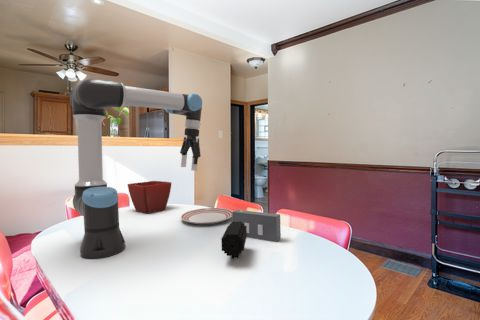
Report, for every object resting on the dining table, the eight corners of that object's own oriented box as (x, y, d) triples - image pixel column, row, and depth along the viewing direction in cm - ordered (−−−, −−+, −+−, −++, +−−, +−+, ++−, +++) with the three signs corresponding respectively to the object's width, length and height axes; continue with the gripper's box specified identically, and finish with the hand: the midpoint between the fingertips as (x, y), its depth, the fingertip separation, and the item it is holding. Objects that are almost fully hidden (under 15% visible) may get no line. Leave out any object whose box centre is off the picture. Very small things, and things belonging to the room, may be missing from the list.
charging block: (276, 242, 107) (276, 216, 106) (232, 235, 117) (231, 211, 116) (280, 238, 111) (280, 213, 110) (237, 232, 121) (236, 209, 120)
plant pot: (155, 205, 182) (154, 180, 181) (173, 209, 170) (172, 182, 169) (128, 211, 167) (126, 183, 166) (145, 216, 155) (144, 186, 154)
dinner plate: (226, 228, 127) (226, 221, 127) (171, 226, 133) (171, 220, 133) (238, 214, 154) (238, 208, 154) (192, 213, 160) (192, 207, 159)
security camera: (247, 245, 105) (246, 219, 104) (243, 266, 86) (242, 235, 86) (229, 245, 106) (228, 219, 105) (221, 266, 87) (220, 235, 87)
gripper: (210, 129, 136) (205, 172, 137) (189, 129, 156) (185, 166, 158) (196, 127, 132) (191, 171, 133) (176, 127, 152) (172, 165, 153)
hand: (188, 168), depth 145 cm, fingers open, 13 cm apart
